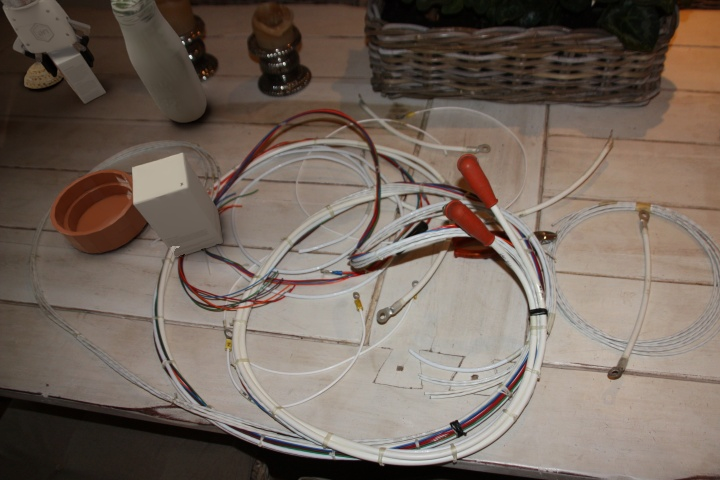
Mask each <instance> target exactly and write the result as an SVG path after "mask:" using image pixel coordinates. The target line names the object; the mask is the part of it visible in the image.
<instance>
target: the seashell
mask: <svg viewBox="0 0 720 480" xmlns="http://www.w3.org/2000/svg"><path fill="white" fill-rule="evenodd" d="M63 78H64V77H63V75H62V74H61V73H60V71H59V70H58V72H57V76H56V77H53V76H52V75H51V73H48V72H47V71H46V69H45V68H44V67H43V65H42V64H41V63H40V62H37V61H36V62H34V63H33V64H31V66H29V68H28V69H27V72H26V74H25V75H24V78H23V86H24V87H26V88H29V89H38V90H39V89H44V88H48V87H51V86H53V85H56V84H57V83H60V81H62V80H63Z"/></svg>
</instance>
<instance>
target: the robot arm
mask: <svg viewBox="0 0 720 480" xmlns="http://www.w3.org/2000/svg"><path fill="white" fill-rule="evenodd" d="M0 2H1V3H2V4H3V5H2V10H3V12H4V14H5V16H6V18H7V20H8V22H9V23H10V25H11V27H12V29H13V31H14V32H15V33H16V39H15V41H14V42H13V45H12V49H13V50H14V51H15V52H18V53H20V54H22V55H24V56H25V57H27V58H30V59H32V60H35V61H36V62H40V63H41V64H42V65H43V67H44V68H45V69H46V71H47V72H48V73H51V75H52V76H53V77H56V76H57V72H58V69H57V67H56V66H55V64H54V63H53V62H52V60H51V59H50V57H49V56H48V55H47V53H46V52H48V51H52V50H55V49H59V48H63V47H67V46H70V45H73V46H74V48H77V49H78V50H79V53H80V54H81V55H82V57H83V58H84V60H85V61H86V63H87V64H88V66H89V67H90V69H91V68H92V69H93V68H94V62H95V57H94V55H93V53H92V52H91V50H90V49H89V47H88V45H89V42H90V38H91V33H92V32H91V31H92V27H91V25H90V24H86V23H84V22H80V21H77V20H74V19H71V18H70V16H69V15H68V14H67V12H66V11H65V10H64V8H63V7H62V6H61V5H60V3H58V1H57V0H0ZM78 31H80V32H82V36H80V35H78V34H77V32H78Z"/></svg>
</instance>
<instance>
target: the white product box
mask: <svg viewBox="0 0 720 480" xmlns="http://www.w3.org/2000/svg"><path fill="white" fill-rule="evenodd" d="M131 171H132V173H131V174H132V175H131V176H132V177H133V205H134V206H135V207H136V208H137V209H138V211H139V212H140V213H141V214H142V216H143V217H144V218H145V219H146V221H147V223H148V224H149V226H150V227H151V228H152V229H153V231H154V232H155V233H156V235H157V236H158V237H159V238H160V240H161V241H162V243H164V245H165V246H166V247H167V249H168V250H170V247H172V246H180V247H179V248H176V249H175V251H174V255H173V256H174V257H175V256H179V255H183V254H185V255H184V256H187V255H190V254H193V253H196V252H199V251H202V250H201V249H202V248H206V249H209V248H211V247H215V246H216V245H215V244H219V245H221V244H223V243H224V239H223V231H222V226H221V220H220V214H219V209H218V207H217V205H216V204H215V202H214V201H213V199H212V198H211V197H212V196H210V194H209V192H208V190H207V189H206V188H205V186H204V184H203V182H202V181H201V179H200V178H199V176H198V174H197V172H196V171H195V169H194V168H193V166H192V164H191V163H190V161H189V159H188V158H187V155H186V154H185V152H180V153H177V154H172V155H170V156H166V157H163V158H160V159H155V160H153V161H150V162H146V163H142V164H140V165H136V166H132V167H131ZM217 209H218V210H217Z"/></svg>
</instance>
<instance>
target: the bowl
mask: <svg viewBox="0 0 720 480" xmlns="http://www.w3.org/2000/svg"><path fill="white" fill-rule="evenodd" d="M49 219H50V222H51V225H52V227H53V228H54V229H55V230H56V231H57V232H58V233H59V234H60V235H61V236H62V237H63V238H64V239H65V240H66V241H67V242H68V243H69V244H70V245H71V246H73V247H74V248H75V249H76V250H78V252H79V251H80V252H83V253H87V254H102V253H105V252H110V251H113V250H116V249H119V248H120V247H122V246H124V245H126V244H128V243H130V241H132V240H133V239H134V238H135V237H136V236H137V235H139V234H140V233H141V231H142V230H143V229H144V227H146V225H147V223H148V222H147V221H146V219H145V218H144V217H143V216H142V214H141V213H140V212H139V211H138V209H137V208H136V207H135V206H134V205H133V176H132V175H130V174H129V173H127V172H126V171H123V170H118V169H114V168H113V169H112V168H111V169H100V170H97V171H96V170H95V171H93V172H89V173H86V174H85V175H83V176H81V177H79V178H76V179H75V180H74V181H72V182H71V183H69V184H68V185H67V186H65V187H64V188H63V189H62V190H61V191H60V193H59V194H58V195H57V196H56V198H55V199H54V201H53V203H52V204H51V207H50V214H49Z"/></svg>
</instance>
